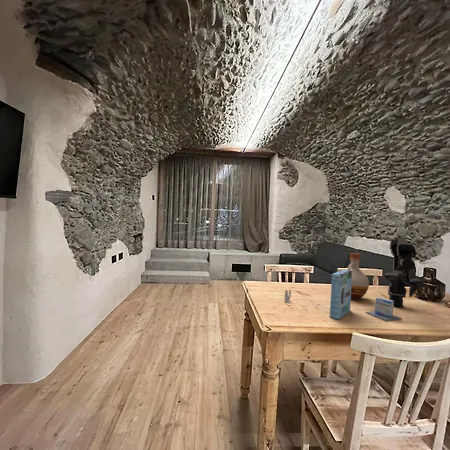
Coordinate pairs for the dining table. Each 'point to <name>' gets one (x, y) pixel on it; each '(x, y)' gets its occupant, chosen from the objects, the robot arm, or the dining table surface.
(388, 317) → the slate board
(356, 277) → the jug
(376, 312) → the medicine box
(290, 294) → the architectural model
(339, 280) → the gum box
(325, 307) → the dining table surface
